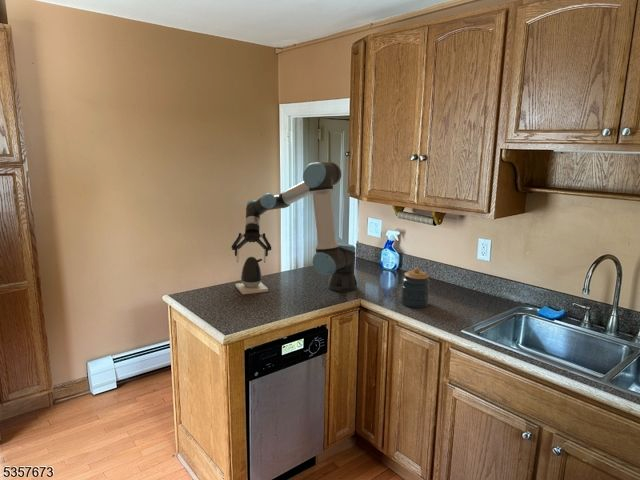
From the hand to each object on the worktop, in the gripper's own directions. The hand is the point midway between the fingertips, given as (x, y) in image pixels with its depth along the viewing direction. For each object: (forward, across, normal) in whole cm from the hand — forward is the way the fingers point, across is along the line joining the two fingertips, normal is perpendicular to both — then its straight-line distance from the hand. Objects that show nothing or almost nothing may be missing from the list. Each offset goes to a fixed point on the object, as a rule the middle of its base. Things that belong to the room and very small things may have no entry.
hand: (251, 261), depth 224 cm
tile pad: (+12, 0, -7) cm, 14 cm away
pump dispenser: (+11, 0, -6) cm, 13 cm away
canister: (+28, -78, +8) cm, 83 cm away
